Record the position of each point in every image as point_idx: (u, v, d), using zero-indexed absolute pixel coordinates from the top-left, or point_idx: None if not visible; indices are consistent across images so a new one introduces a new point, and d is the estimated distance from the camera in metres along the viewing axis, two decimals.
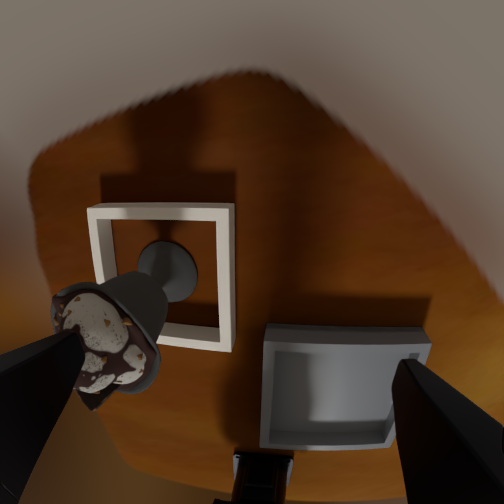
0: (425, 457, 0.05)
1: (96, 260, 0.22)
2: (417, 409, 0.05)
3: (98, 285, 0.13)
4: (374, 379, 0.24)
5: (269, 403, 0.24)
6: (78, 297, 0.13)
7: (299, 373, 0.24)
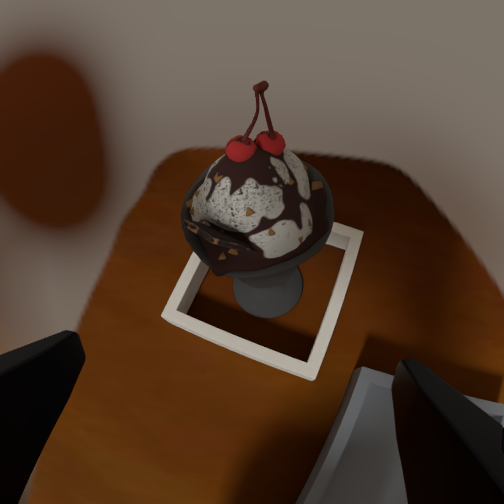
0: (425, 457, 0.05)
1: None
2: (417, 409, 0.05)
3: None
4: None
5: (334, 465, 0.15)
6: None
7: (373, 440, 0.17)
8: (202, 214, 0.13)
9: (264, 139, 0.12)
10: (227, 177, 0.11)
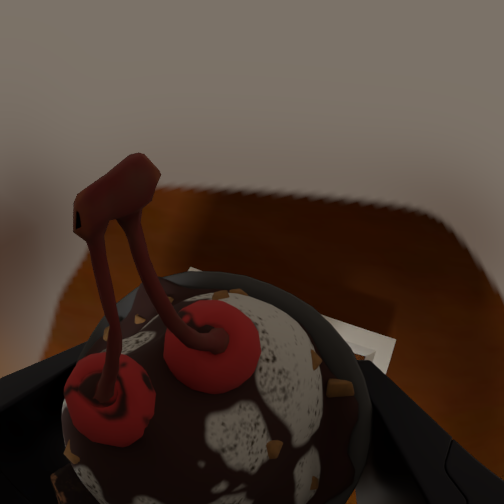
0: (370, 464, 0.05)
1: None
2: None
3: (292, 296, 0.07)
4: None
5: None
6: (242, 291, 0.06)
7: None
8: None
9: (186, 355, 0.03)
10: (90, 468, 0.03)
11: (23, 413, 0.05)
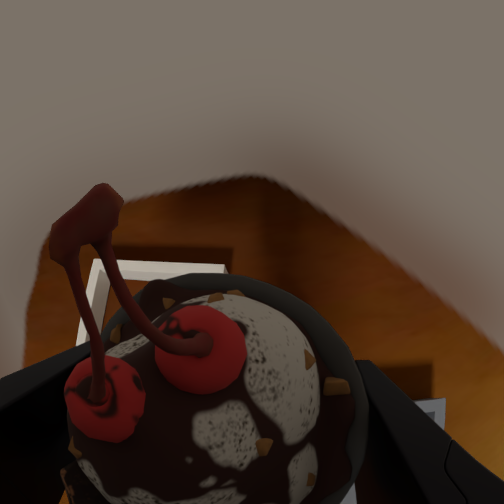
0: (370, 464, 0.05)
1: None
2: None
3: (291, 296, 0.07)
4: None
5: None
6: (240, 292, 0.06)
7: None
8: None
9: (173, 358, 0.04)
10: (91, 462, 0.03)
11: (23, 413, 0.05)
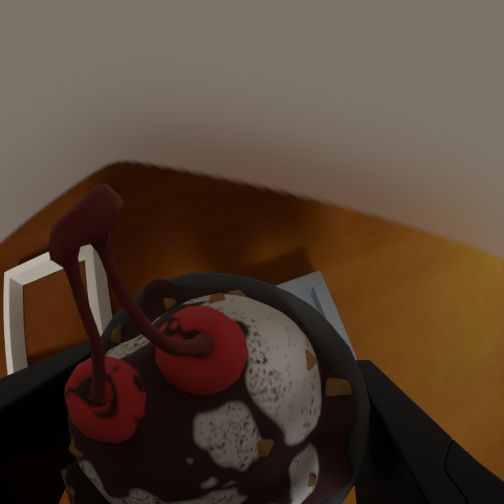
0: (369, 464, 0.05)
1: (5, 311, 0.21)
2: None
3: (292, 296, 0.07)
4: None
5: None
6: (241, 292, 0.06)
7: None
8: None
9: (174, 359, 0.04)
10: (91, 463, 0.03)
11: (23, 413, 0.05)
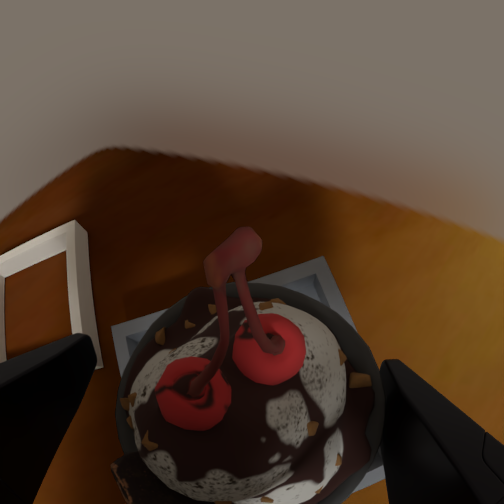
0: (405, 460, 0.05)
1: None
2: (398, 411, 0.06)
3: (320, 304, 0.08)
4: None
5: None
6: (280, 300, 0.07)
7: None
8: None
9: (253, 356, 0.05)
10: (167, 452, 0.04)
11: (2, 402, 0.05)
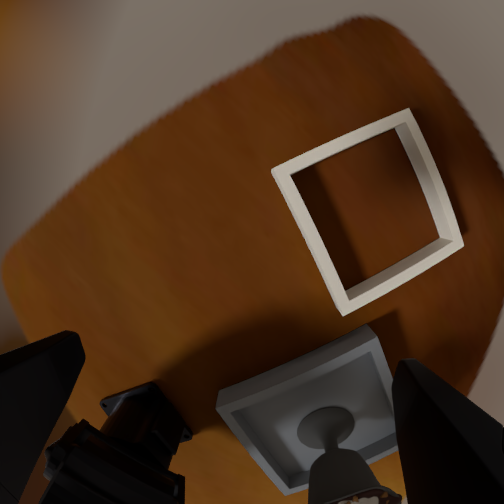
0: (425, 457, 0.05)
1: (365, 131, 0.19)
2: (417, 409, 0.05)
3: None
4: (350, 434, 0.23)
5: (299, 383, 0.21)
6: None
7: (332, 380, 0.23)
8: None
9: None
10: None
11: None
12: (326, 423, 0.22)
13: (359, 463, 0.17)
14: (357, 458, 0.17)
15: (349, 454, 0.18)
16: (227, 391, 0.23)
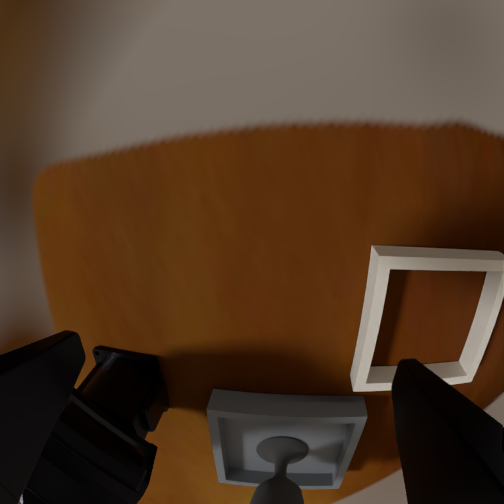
0: (425, 457, 0.05)
1: (470, 264, 0.17)
2: (417, 409, 0.05)
3: None
4: None
5: (288, 421, 0.22)
6: None
7: (310, 423, 0.24)
8: None
9: None
10: None
11: None
12: (286, 450, 0.25)
13: (299, 501, 0.19)
14: (299, 496, 0.20)
15: (295, 490, 0.20)
16: (221, 395, 0.24)
